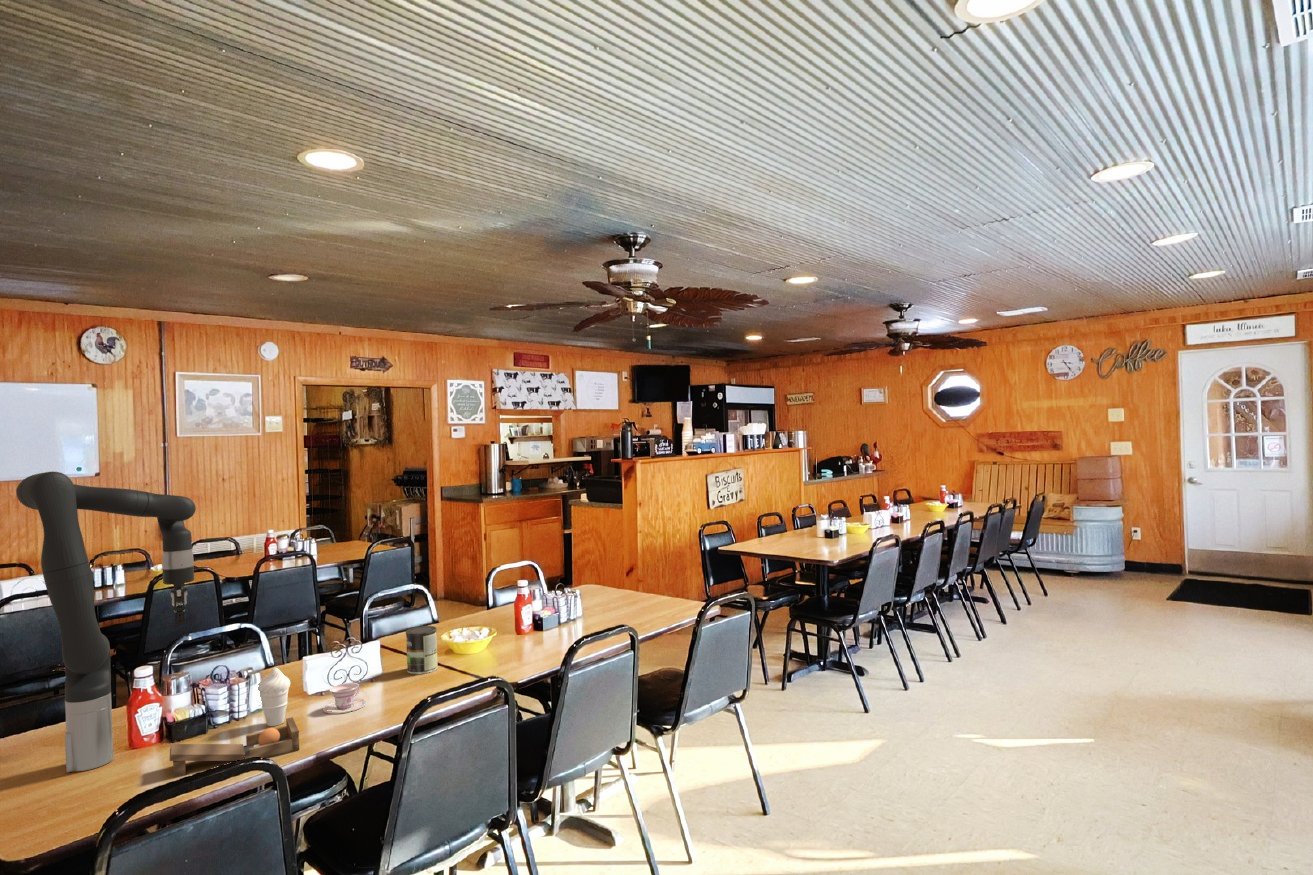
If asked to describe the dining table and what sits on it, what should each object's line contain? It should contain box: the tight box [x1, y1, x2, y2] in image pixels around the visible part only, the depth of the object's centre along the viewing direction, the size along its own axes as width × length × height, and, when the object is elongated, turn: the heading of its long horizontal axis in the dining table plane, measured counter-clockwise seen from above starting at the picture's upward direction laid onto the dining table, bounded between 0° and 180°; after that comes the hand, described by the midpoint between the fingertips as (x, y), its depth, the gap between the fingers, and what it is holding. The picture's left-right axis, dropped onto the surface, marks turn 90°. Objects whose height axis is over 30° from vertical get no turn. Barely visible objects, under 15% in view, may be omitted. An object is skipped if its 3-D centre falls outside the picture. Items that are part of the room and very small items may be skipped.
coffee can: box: [405, 625, 439, 675], centre depth 254 cm, size 10×10×14 cm
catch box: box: [243, 716, 300, 759], centre depth 190 cm, size 12×12×5 cm
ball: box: [258, 727, 280, 746], centre depth 190 cm, size 5×5×5 cm
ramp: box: [169, 743, 246, 778], centre depth 183 cm, size 16×8×6 cm, turn 123°
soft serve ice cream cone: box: [258, 667, 291, 727], centre depth 208 cm, size 8×8×16 cm
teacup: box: [322, 682, 367, 715], centre depth 220 cm, size 12×12×6 cm
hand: (180, 622), depth 208 cm, fingers open, 8 cm apart
